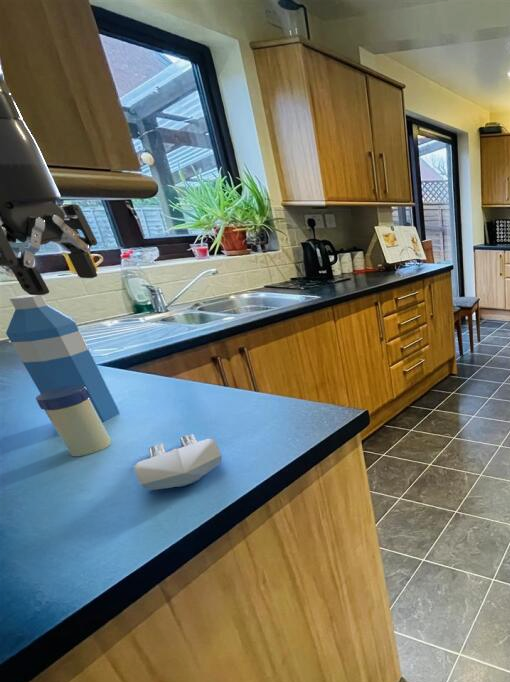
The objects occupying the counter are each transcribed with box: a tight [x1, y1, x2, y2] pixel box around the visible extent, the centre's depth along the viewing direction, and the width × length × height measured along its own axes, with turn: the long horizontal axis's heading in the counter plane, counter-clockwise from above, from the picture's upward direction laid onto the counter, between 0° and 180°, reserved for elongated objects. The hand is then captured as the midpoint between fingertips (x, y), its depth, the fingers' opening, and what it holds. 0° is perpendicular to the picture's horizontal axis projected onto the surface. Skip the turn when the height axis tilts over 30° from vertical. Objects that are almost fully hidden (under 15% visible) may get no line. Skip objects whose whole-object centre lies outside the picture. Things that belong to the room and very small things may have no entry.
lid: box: [35, 385, 90, 411], centre depth 67 cm, size 6×6×2 cm
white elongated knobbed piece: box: [133, 433, 222, 491], centre depth 64 cm, size 10×20×5 cm, turn 45°
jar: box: [44, 398, 113, 457], centre depth 69 cm, size 5×5×10 cm
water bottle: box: [5, 294, 120, 423], centre depth 77 cm, size 9×9×25 cm
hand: (65, 285), depth 59 cm, fingers open, 8 cm apart
